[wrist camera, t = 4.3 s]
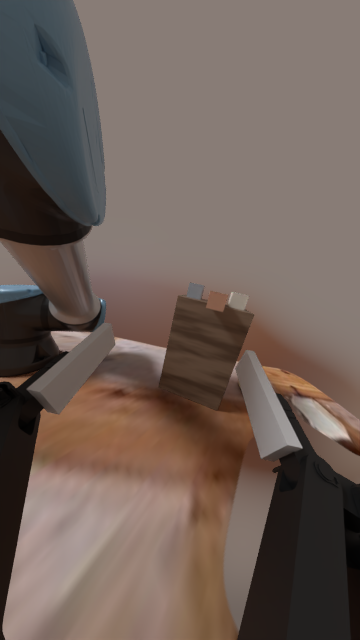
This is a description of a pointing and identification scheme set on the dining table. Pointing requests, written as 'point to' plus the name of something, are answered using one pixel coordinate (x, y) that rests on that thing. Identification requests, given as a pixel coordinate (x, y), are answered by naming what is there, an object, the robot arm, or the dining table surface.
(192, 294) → the slate cube
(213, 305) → the terracotta stick
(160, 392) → the dining table surface
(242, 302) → the cream cube
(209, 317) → the walnut stand
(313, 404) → the dining table surface
